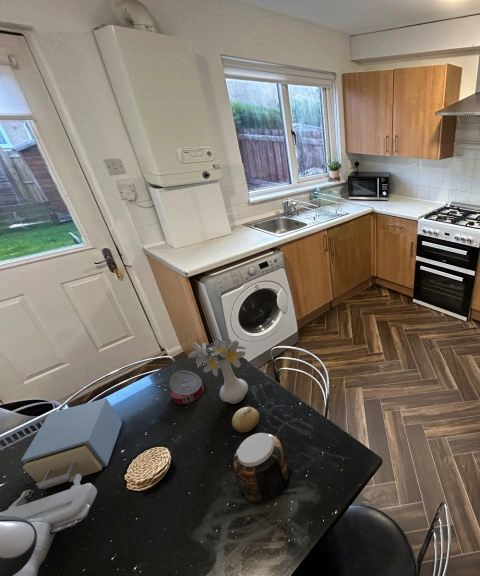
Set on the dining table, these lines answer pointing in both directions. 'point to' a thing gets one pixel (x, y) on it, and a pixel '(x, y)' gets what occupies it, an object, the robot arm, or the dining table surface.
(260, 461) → the jar
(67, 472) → the beige drawer
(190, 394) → the canned food
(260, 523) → the dining table surface
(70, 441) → the drawer casing
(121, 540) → the dining table surface
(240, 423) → the yellow-brown oval lump
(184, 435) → the dining table surface
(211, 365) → the flower vase
